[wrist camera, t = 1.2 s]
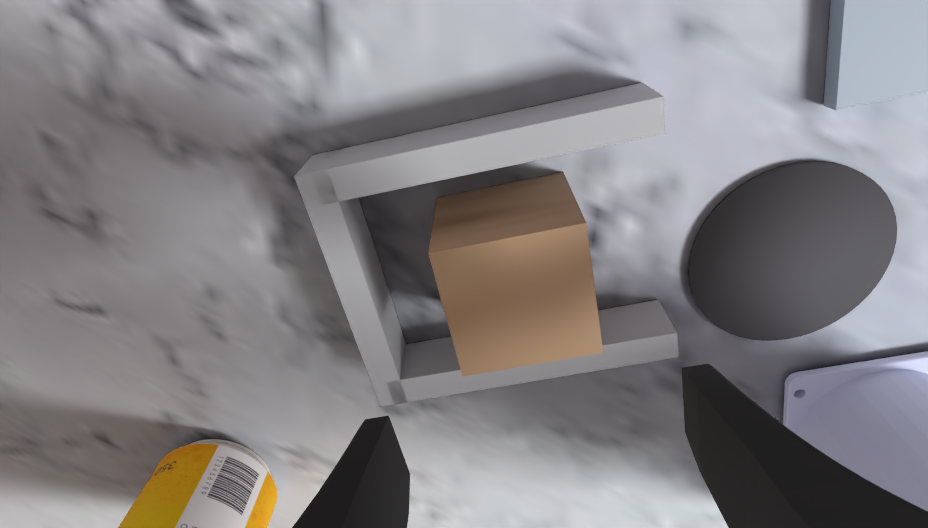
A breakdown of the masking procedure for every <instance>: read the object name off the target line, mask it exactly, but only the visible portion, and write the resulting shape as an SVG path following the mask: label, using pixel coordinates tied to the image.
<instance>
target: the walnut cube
mask: <svg viewBox="0 0 928 528" xmlns="http://www.w3.org/2000/svg"><path fill="white" fill-rule="evenodd" d="M428 255H429V259H430V262H431V266H432V269H433V273H434V276H435V280H436V283H437V287H438V291H439V294H440V298H441V301H442V305H443V308H444V312H445V316H446V319H447V323H448V326H449V330H450V333H451V337H452V341H453V344H454V348H455V351H456V355H457V358H458V362H459V366H460V369H461V373H462V376H468V375H474V374H480V373H486V372H492V371H498V370H504V369H510V368H516V367H522V366H528V365H534V364H539V363H545V362H551V361H557V360H563V359H569V358H575V357H581V356H587V355H593V354H599V353H603V346H602V339H601V331H600V324H599V316H598V309H597V301H596V294H595V286H594V278H593V271H592V263H591V256H590V248H589V241H588V233H587V226H586V222H585V219H584V217H583V215H582V213H581V211H580V208H579V206H578V204H577V202H576V199H575V197H574V195H573V193H572V191H571V188H570V186H569V184H568V182H567V180H566V177H565V175H564V173H563V172H560V173H555V174H551V175H546V176H541V177H536V178H531V179H526V180H521V181H517V182H512V183H507V184H502V185H497V186H492V187H487V188H483V189H478V190H473V191H468V192H463V193H458V194H453V195H449V196H444V197H439V198H437V199H436V206H435V212H434V219H433V225H432V232H431V238H430V245H429V251H428Z"/></svg>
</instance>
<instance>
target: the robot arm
mask: <svg viewBox="0 0 928 528" xmlns="http://www.w3.org/2000/svg"><path fill="white" fill-rule="evenodd" d="M682 381H683V399H684V418H685V433H686V435H687V438H688V441H689V444H690V446H691V449H692V452H693V454H694V457H695V460H696V462H697V465H698V467H699V470H700V472H701V474H702V476H703V478H704V480H705V482H706V484H707V486H708V488H709V490H710V492H711V494H712V496H713V498H714V500H715V502H716V504H717V506H718V508H719V510H720V512H721V514H722V515H723V517H724V519H725V521H726V523H727V525H728V527H729V528H928V351H926V352H919V353H913V354H907V355H901V356H894V357H888V358H882V359H876V360H869V361H863V362H857V363H850V364H844V365H838V366H832V367H825V368H819V369H813V370H807V371H800V372H795V373H792V374H791V375H789V376H788V377H787V378H786V381H785V392H784V412H783V424H782V423H780V422H779V421H778V420H776V419H775V418H774V417H773V416H771V415H770V414H769V413H767V412H766V411H765V410H763V409H762V408H761V407H760V406H758V405H757V404H756V403H755V402H753V401H752V400H751V399H750V398H749V397H747V396H746V395H745V394H744V393H743V392H741V391H740V390H739V389H738V388H737V387H736V386H734V385H733V384H732V383H731V382H730V381H729V380H727V379H726V378H725V377H724V376H723V375H722V374H721V373H719V372H718V371H717V370H716V369H715V368H714V367H712V366H711V365H709V364H703V365H697V366H691V367H685V368H682ZM797 390H799V391H798V392H796V391H797ZM795 392H796V393H795ZM409 489H410V473H409V470H408V467H407V465H406V462H405V459H404V456H403V454H402V451H401V448H400V446H399V443H398V440H397V437H396V435H395V432H394V429H393V427H392V424H391V421H390V418H389V416H384V417H378V418H372V419H365V421H364V422H363V423H362V425H361V427H360V428H359V430H358V431H357V433H356V434H355V436H354V438H353V439H352V441H351V443H350V444H349V446H348V447H347V449H346V451H345V452H344V454H343V455H342V457H341V458H340V460H339V462H338V463H337V465H336V466H335V468H334V469H333V471H332V472H331V474H330V475H329V477H328V478H327V480H326V481H325V483H324V484H323V486H322V487H321V489H320V490H319V492H318V493H317V495H316V496H315V497H314V499H313V500H312V502H311V503H310V504H309V506H308V507H307V508H306V510H305V511H304V512H303V514H302V515H301V517H300V518H299V519H298V521H297V522H296V523H295V525H294V526H293V527H292V528H407V522H408V515H409Z"/></svg>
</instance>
